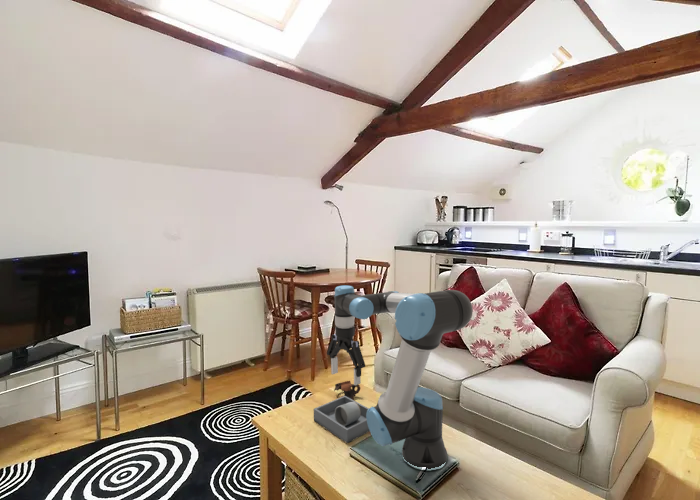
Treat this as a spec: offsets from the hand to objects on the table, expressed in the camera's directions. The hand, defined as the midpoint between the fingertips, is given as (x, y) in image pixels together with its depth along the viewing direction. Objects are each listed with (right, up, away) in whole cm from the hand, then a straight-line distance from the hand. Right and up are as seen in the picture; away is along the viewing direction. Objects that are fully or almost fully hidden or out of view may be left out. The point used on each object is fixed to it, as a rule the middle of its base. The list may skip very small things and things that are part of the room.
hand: (345, 378), depth 150 cm
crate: (0, -18, +2) cm, 19 cm away
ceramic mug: (0, -18, +2) cm, 18 cm away
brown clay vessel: (+1, -17, +24) cm, 29 cm away
